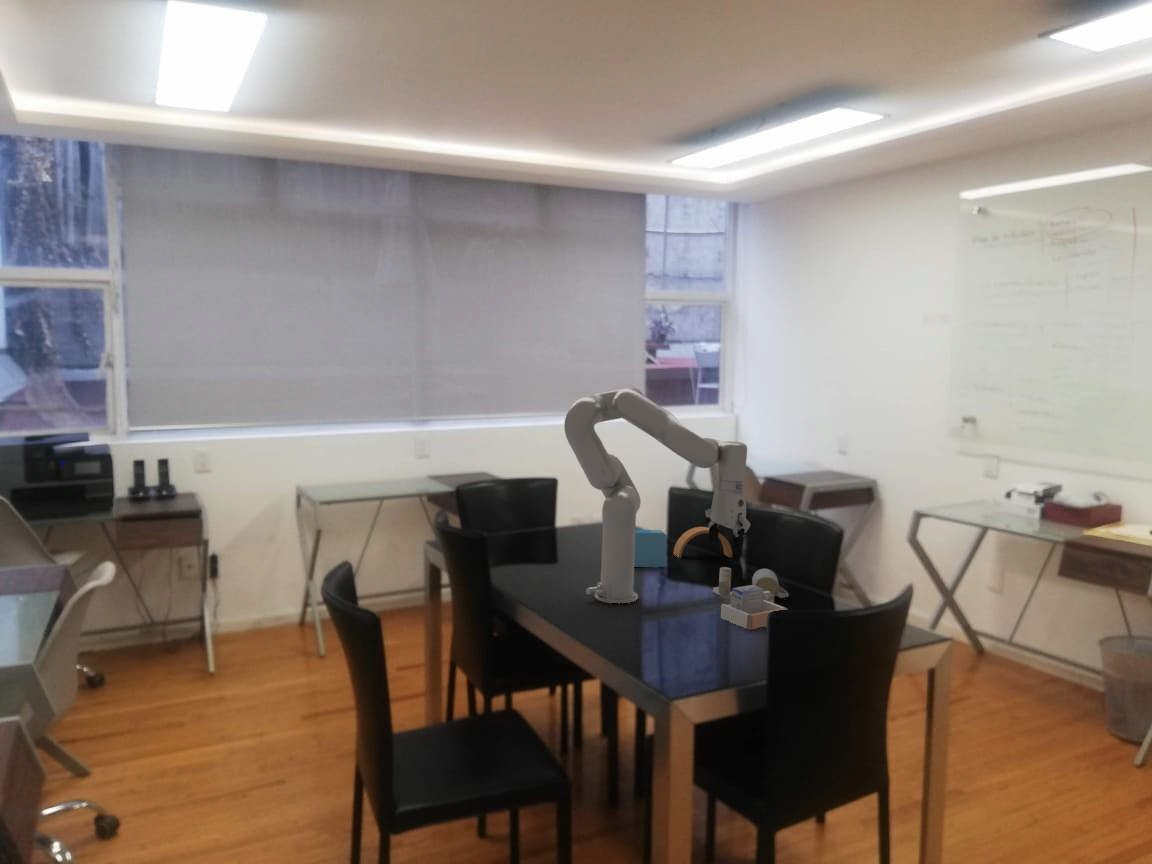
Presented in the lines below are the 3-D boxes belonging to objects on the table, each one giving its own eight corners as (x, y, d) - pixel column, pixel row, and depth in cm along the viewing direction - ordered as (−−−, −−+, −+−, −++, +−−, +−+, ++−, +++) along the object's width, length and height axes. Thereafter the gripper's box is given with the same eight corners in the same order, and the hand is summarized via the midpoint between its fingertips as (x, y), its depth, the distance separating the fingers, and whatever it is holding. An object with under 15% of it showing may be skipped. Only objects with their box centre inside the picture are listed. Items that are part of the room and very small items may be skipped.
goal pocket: (749, 630, 229) (750, 615, 229) (720, 618, 238) (721, 604, 238) (787, 623, 237) (788, 608, 236) (758, 611, 246) (758, 597, 246)
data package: (662, 564, 294) (664, 529, 292) (665, 568, 289) (667, 532, 288) (627, 564, 292) (628, 529, 291) (629, 568, 288) (631, 532, 286)
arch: (732, 557, 308) (734, 530, 307) (678, 558, 303) (679, 530, 302) (726, 553, 313) (727, 526, 312) (672, 554, 309) (674, 526, 308)
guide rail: (760, 611, 247) (760, 606, 246) (712, 592, 263) (713, 587, 263) (765, 610, 248) (766, 605, 248) (717, 591, 264) (718, 586, 264)
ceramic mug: (753, 599, 258) (755, 574, 257) (751, 591, 266) (753, 567, 265) (790, 603, 256) (792, 577, 256) (786, 595, 264) (788, 570, 264)
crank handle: (732, 618, 238) (734, 578, 236) (706, 607, 246) (708, 569, 245) (773, 610, 246) (775, 572, 245) (746, 600, 255) (748, 563, 254)
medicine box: (750, 614, 243) (752, 584, 242) (762, 619, 240) (764, 588, 239) (729, 618, 239) (731, 587, 238) (741, 623, 235) (742, 592, 234)
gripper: (762, 491, 239) (756, 552, 241) (719, 480, 253) (713, 537, 255) (741, 492, 235) (735, 554, 237) (699, 480, 249) (694, 539, 251)
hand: (724, 545), depth 246 cm, fingers open, 9 cm apart
